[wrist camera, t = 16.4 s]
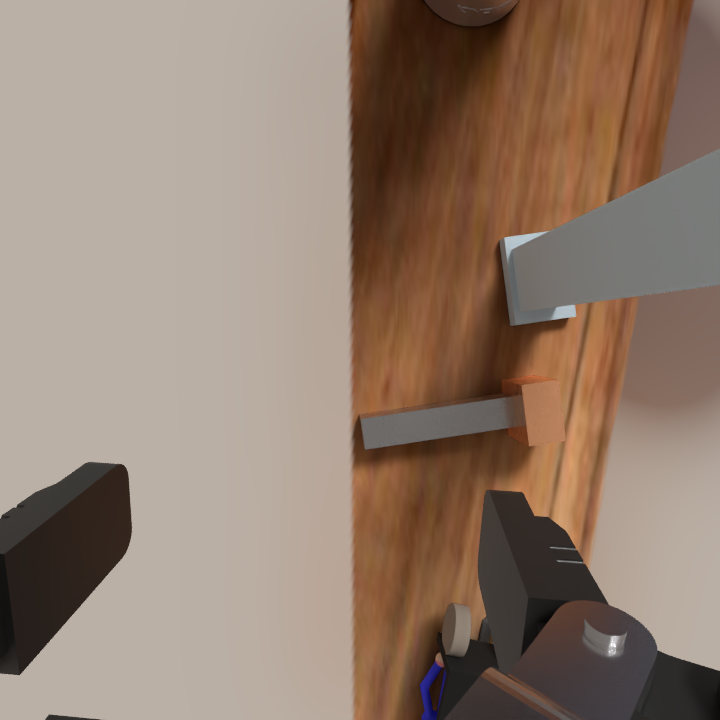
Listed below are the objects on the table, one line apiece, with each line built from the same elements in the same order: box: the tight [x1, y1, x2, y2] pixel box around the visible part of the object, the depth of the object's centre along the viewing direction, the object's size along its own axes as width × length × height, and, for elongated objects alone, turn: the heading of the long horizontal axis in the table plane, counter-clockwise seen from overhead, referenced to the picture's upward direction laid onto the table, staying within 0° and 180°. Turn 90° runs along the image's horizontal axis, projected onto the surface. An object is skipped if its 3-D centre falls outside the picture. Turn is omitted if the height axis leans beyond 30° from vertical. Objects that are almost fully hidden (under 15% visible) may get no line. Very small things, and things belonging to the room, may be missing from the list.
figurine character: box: [420, 603, 499, 720], centre depth 41 cm, size 7×8×15 cm
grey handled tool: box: [359, 375, 566, 450], centre depth 41 cm, size 5×15×5 cm, turn 98°
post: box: [499, 149, 720, 326], centre depth 27 cm, size 7×5×32 cm
